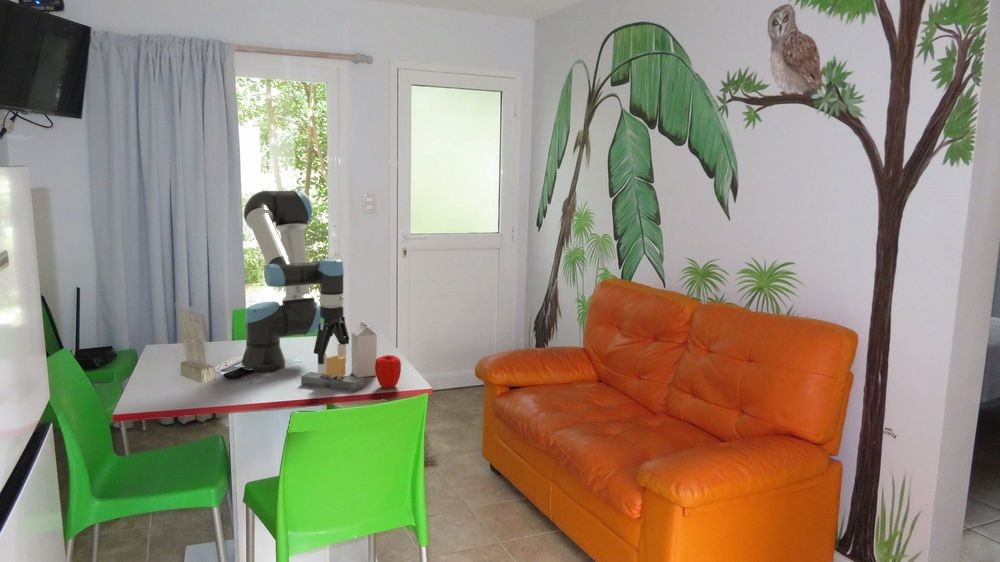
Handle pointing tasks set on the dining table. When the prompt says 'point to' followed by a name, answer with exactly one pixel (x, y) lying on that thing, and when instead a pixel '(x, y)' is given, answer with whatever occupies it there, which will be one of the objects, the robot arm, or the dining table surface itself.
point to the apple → (388, 370)
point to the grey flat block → (332, 381)
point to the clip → (335, 366)
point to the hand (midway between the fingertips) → (332, 367)
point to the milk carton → (364, 350)
